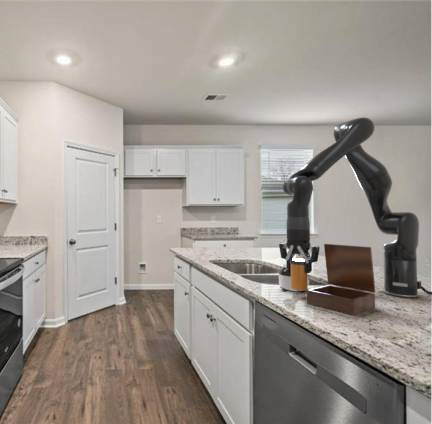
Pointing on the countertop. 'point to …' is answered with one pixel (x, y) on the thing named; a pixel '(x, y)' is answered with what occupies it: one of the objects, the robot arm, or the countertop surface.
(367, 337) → the countertop surface
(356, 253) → the chest lid
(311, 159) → the robot arm
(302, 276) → the jar
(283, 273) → the spread jar
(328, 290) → the chest
